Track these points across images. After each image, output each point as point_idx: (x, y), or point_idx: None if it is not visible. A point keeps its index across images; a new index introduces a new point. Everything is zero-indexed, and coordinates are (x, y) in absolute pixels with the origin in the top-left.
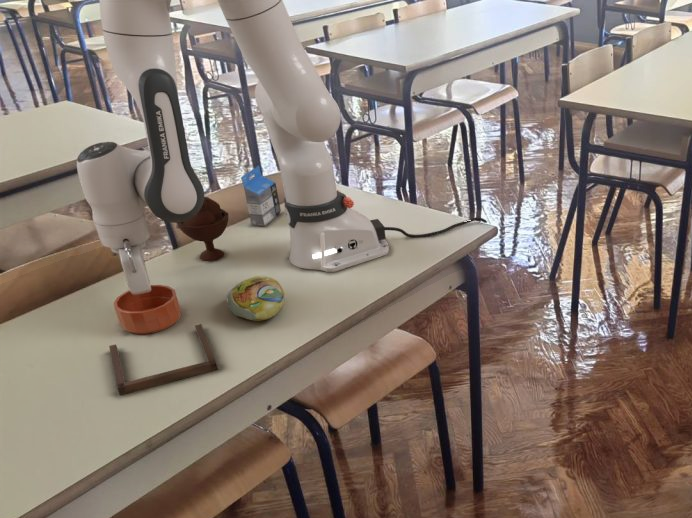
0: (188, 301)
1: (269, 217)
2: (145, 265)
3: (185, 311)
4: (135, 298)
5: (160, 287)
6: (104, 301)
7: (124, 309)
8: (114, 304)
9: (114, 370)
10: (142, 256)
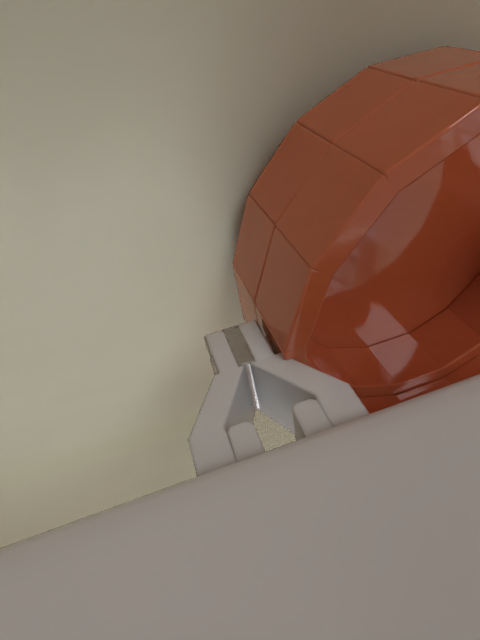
0: (210, 5)
1: None
2: (251, 495)
3: (368, 25)
4: None
5: (346, 248)
6: (102, 484)
7: (379, 386)
8: None
9: None
10: (259, 631)
